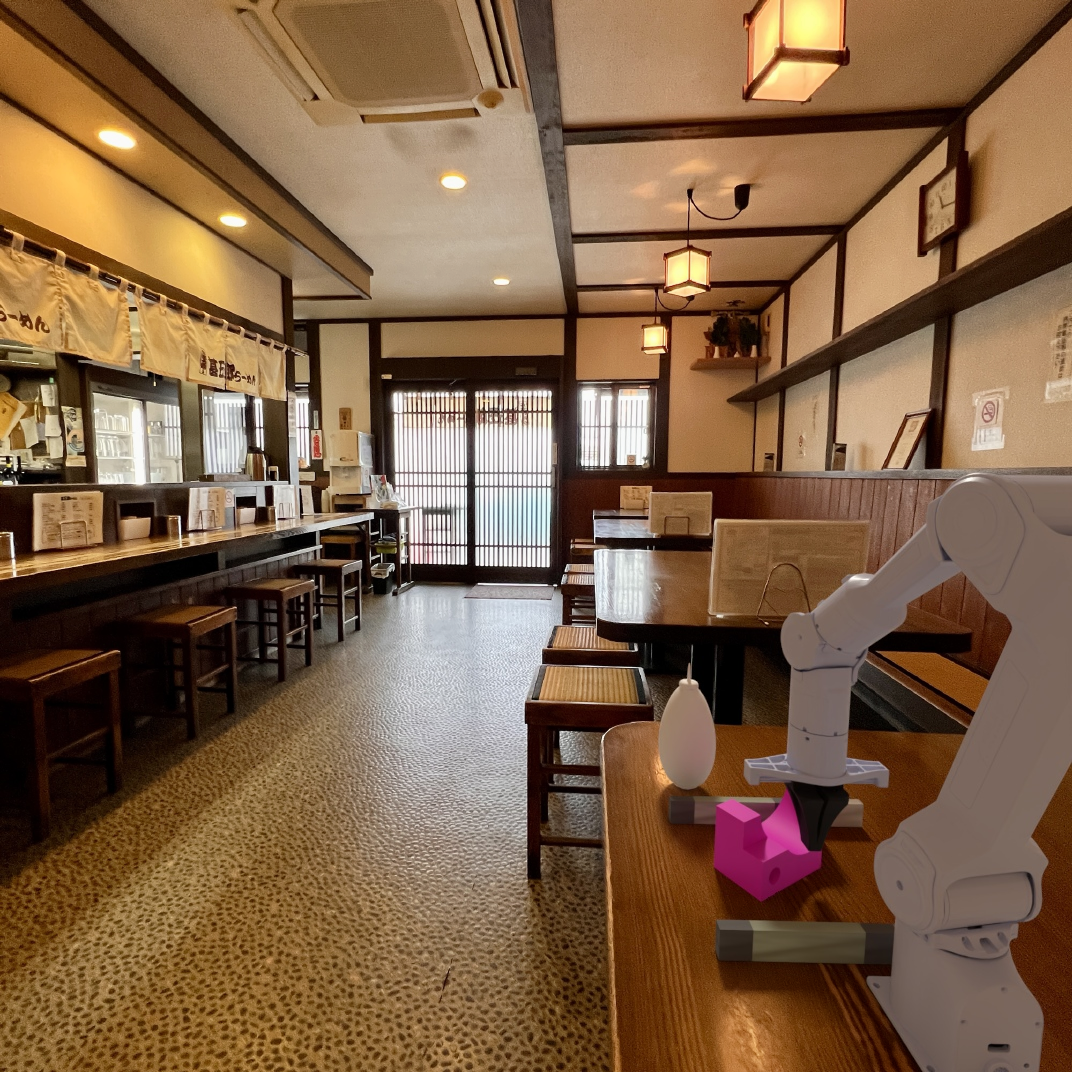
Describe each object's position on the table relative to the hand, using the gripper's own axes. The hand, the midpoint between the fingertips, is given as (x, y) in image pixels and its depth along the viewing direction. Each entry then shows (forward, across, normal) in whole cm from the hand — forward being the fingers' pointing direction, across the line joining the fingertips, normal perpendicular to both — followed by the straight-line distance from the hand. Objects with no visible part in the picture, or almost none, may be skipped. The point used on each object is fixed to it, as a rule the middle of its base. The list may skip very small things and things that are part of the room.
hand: (810, 845), depth 63 cm
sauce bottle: (+4, +9, -19) cm, 21 cm away
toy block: (+4, +2, -3) cm, 6 cm away
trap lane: (+4, +1, 0) cm, 4 cm away
